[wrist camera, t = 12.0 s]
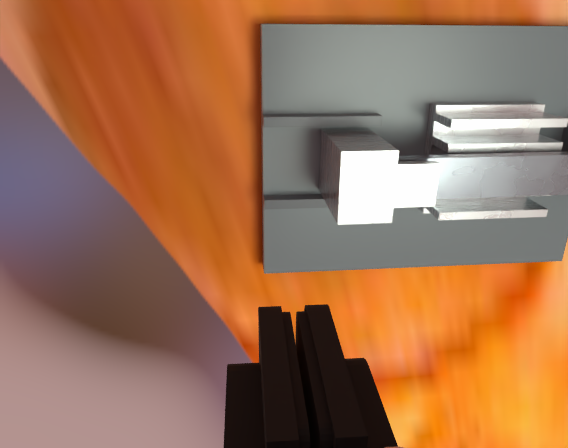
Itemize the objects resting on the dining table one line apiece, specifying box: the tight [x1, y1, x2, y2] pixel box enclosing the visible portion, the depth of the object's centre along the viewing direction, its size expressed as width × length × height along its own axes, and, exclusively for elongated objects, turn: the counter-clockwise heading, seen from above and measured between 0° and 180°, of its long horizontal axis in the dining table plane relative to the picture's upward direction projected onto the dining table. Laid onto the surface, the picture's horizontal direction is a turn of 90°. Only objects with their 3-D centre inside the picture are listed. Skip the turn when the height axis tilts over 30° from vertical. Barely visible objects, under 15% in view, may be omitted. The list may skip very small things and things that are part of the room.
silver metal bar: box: [398, 151, 568, 199], centre depth 28 cm, size 15×3×2 cm, turn 90°
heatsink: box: [418, 102, 568, 220], centre depth 30 cm, size 7×7×3 cm
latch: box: [319, 129, 440, 225], centre depth 28 cm, size 5×4×6 cm
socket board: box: [260, 24, 568, 273], centre depth 31 cm, size 22×16×4 cm
